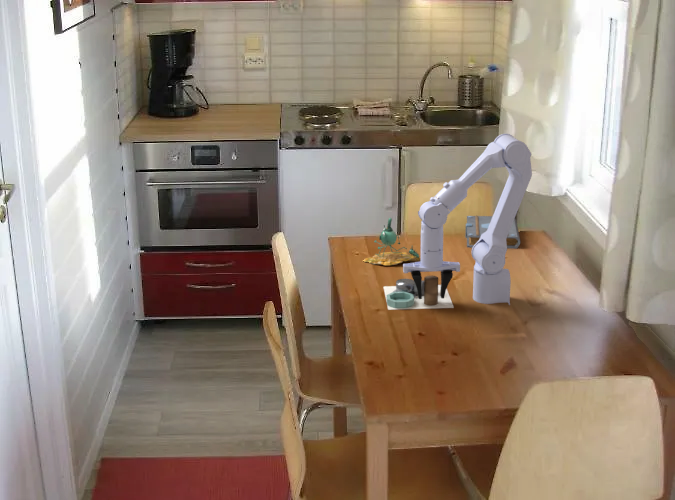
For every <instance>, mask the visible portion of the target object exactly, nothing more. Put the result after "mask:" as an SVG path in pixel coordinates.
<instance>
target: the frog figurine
mask: <svg viewBox="0 0 675 500" xmlns="http://www.w3.org/2000/svg"><path fill="white" fill-rule="evenodd" d="M392 221H393V219H392V217H389V218H388V220H387V227H385V225H384V224H383V229H382V232H381V233H380V235H379V236H378V237H379V238H378V239H379V241H381V243H380V242H378V241H377V240H376V239H375V240H374V241H373V243H377V244H378V245H381V246H378V247H377V249H378V250H379V252H378V253H375V254H374V255H373V256H369V257H366V258H364V260H363V259H362V262H363V261H364V262H363V263H368V262H369V263H368V264H371V265H383V266H386V267H387V266H394V265H398V264H402V263H403V262H410V263H412V262H420V261H421V257H420V254H419V252H418V251H416V249H414V247H413V245H411V248H410V249H409V251H408V252H401V251H400V250H402V249H405V250H408V248H407V247H406V246H402V247H401V248H399V249H396V248H394V247H393V245H394V244H396V241H397V239H398V240H400V237H399V235H397V233H396V231H394V230H393V228H392ZM397 244H398V245H401V242H400V241H398V242H397ZM387 247H389V248H390V251H389V252H388V251H387V252H385V250H386V249H387ZM382 248H384V249H383V252H381V251H382ZM393 250H394V251H393Z"/></svg>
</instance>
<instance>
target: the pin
mask: <svg viewBox="0 0 675 500" xmlns="http://www.w3.org/2000/svg"><path fill="white" fill-rule="evenodd" d="M423 281H424V304H425V305H429V306H434V305H437V304H438V285H439V277H438V276H436V275H426V276H424V280H423Z"/></svg>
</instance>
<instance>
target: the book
mask: <svg viewBox="0 0 675 500" xmlns="http://www.w3.org/2000/svg"><path fill="white" fill-rule="evenodd" d="M492 217H493V215H466V223H465V235H464V236H465V239H466V248H471V249H472V248H473V246H474V245H475V244H476V243H477V242H478V241H479V239H480V237H481V235H482V234H483V233H484V232H486V231H487V229H488V227H489V224H490V222H491V219H492ZM517 223H518V222H517V219H516V218H515V219H514V221H513V223H512V226H511V228H510V231H509V233H508V236H507V238H506V243H507V249H512V250H513V249H515V250H516V249H518V248H519V246H521V245H520V244H521V238H520V232H519V228H518V227H519V226H518V224H517Z"/></svg>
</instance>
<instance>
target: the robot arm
mask: <svg viewBox="0 0 675 500" xmlns="http://www.w3.org/2000/svg"><path fill="white" fill-rule="evenodd" d="M531 156H532V152H531V151H530V149H529V147H528V146H527V144H526V143H525V142H523V141H521V140H519V139H518V138H516V137H514V136H513V134H510V133H502V134H499V135H498V136H496V137H495V139H494V141H492V142H490V143H489V144H487V146H486V148H485V149H484V151H483V152H482V153H481V154H480V156H479V157H477V159H476V160H475V161H473V163H472V164H471V165H470V166H468V168H467V169H466V170H465V171H464V172H463V174H462V175H461V176H460V177H459V178H458V179H451V180H449V181H445V182H444V183H443V184H442V186H443V187H442V188H441V189H440V190H439V191H438V192H437V193H436V194H435V195H434V196H431V197H430V198H429V200H428V201H426V202H424V203H422V205H420V207H419V211H417V214H418V217H419V219H420V220H421V221H420V222H421V224H420V225H421V226H420V258H421V260H419V261H414V262H410V263H403V264H402V271H403V274H409V273H410V274H411V278H412V280H414V282H415V284H416V287H417V291H418V298H419V299H422V293H421V282H422V281H423V280H422V279H423V277H422V273H423V272H424V273H426V272H427V273H429V272H440V285H441V290H440V296H441V298H444V296H445V292H446V289H447V290H448V285H449V284H450V282H451V281H452V279H453V276H454V274H453V272H456V273H459V272H461V263H460V262H458V261H444V225H445V224H446V223H447V220H448V215H450V213H451V212H453V211H454V210H455V209H456V208H457V206H459V205H460V204H461V203H462V202H463V201H464V200H465V199H466V198H467V197H468V191H469V189H470V188H471V187H472V186H473V185H474V184H475V183H477V182H478V181H479V180H480V179H481V178H483V176H484V175H486V174H487V173H488V172H489V171H490V170H492V169H498V168H506V171H507V172H508V177H507V180H506V182H505V185H504V188H503V190H502V192H501V195H500V197H499V200H498V202H497V205H496V207H495V210H494V212H493V214H492V216H493V217H492V219H491V222H490V224H489V227H488V229H487V231H486V232H484V233H483V234H482V235H481V237H480V239H479V241H478V242H477V243H476V244H475V245H474V246H473V248H471V257H472V259H473V260H474V261H475V264H474V265H473V285H472V299H473V301H474V302H476V303H479V304H485V305H491V304H499V303H507V304H508V305H509V306H511V303H510V301H511V280H512V279H511V274H510V273H511V272H510V269H508V268H504V267H505V265H506V253H507V251H508V248H507V243H506V238H507V236H508V233H509V231H510V228H511V226H512V223H513V221H514V219H516V216H517V214H518V210H519V209H520V206H521V203H522V202H523V198H524V196H525V194H526V191H527V189H528V187H529V185H530V184H529V183H530V181H531V179H532V177H533V176H532V175H533V169H532V161H531Z"/></svg>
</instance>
